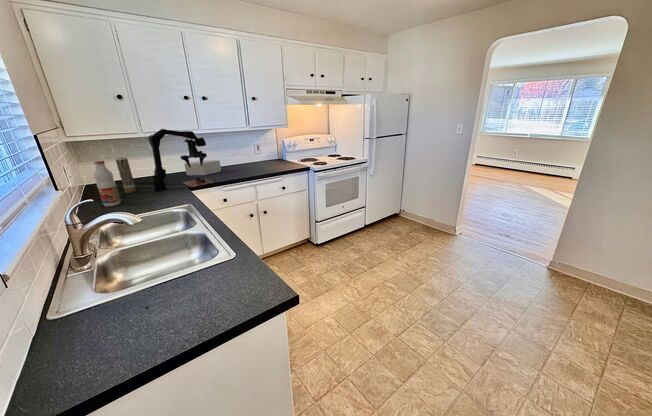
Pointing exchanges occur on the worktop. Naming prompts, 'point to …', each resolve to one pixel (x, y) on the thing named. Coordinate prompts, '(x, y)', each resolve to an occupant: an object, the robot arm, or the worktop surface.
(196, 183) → the face board
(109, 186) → the fruit juice
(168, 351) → the worktop surface
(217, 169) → the block
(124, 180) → the paper tube
